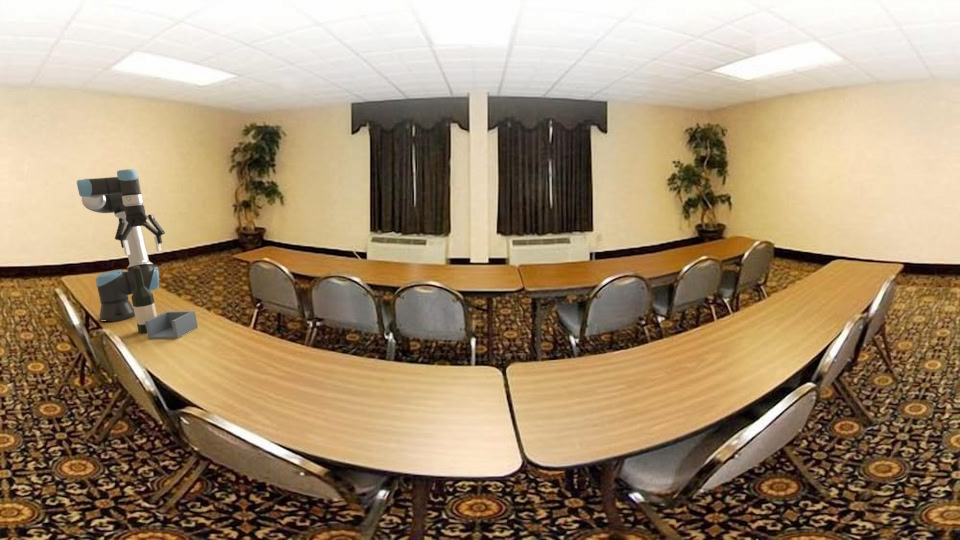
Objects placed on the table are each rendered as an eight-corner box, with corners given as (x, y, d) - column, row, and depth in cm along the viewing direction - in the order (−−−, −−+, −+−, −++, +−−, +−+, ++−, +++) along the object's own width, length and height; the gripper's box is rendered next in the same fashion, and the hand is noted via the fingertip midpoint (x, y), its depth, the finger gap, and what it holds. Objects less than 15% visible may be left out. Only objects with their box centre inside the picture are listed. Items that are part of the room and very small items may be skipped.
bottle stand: (169, 328, 253) (166, 311, 251) (197, 327, 251) (194, 310, 249) (148, 338, 239) (144, 321, 237) (178, 338, 237) (174, 321, 236)
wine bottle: (150, 333, 246) (136, 268, 239) (134, 333, 248) (120, 269, 241) (163, 327, 254) (151, 264, 247) (148, 327, 256) (135, 264, 249)
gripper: (99, 208, 236) (109, 257, 240) (158, 202, 238) (168, 250, 241) (109, 208, 244) (119, 255, 247) (167, 201, 245) (176, 248, 249)
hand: (143, 253), depth 244 cm, fingers open, 13 cm apart
